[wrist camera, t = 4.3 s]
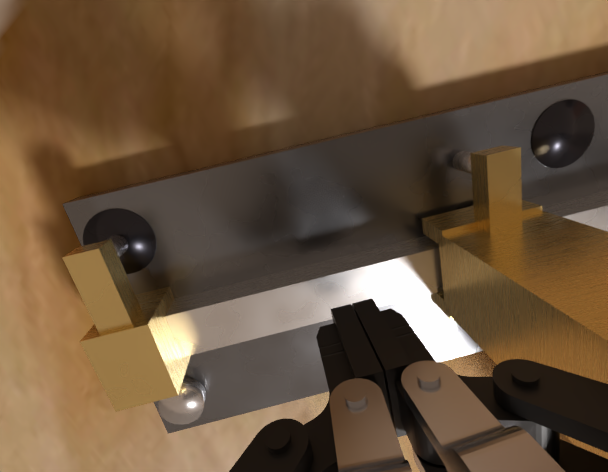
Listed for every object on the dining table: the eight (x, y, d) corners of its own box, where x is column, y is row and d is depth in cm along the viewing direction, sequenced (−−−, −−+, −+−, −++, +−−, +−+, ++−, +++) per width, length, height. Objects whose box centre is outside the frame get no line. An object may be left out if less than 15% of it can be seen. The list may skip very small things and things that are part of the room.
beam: (674, 93, 15) (770, 86, 12) (658, 228, 17) (737, 250, 14) (85, 235, 14) (39, 264, 11) (141, 360, 16) (115, 411, 13)
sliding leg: (507, 134, 14) (913, 156, 5) (511, 277, 17) (808, 463, 8) (413, 157, 14) (669, 217, 5) (430, 298, 16) (631, 512, 7)
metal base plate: (658, 59, 16) (713, 50, 14) (634, 294, 20) (674, 312, 18) (77, 197, 15) (50, 208, 13) (174, 414, 19) (163, 447, 17)
